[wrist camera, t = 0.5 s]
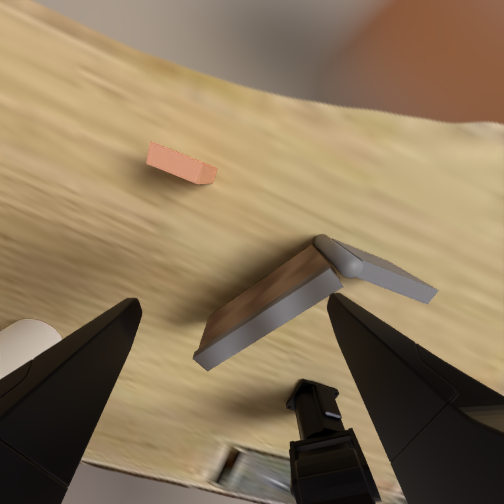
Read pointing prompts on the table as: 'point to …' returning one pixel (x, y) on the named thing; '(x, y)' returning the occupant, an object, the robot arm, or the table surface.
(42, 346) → the cylindrical container
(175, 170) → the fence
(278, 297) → the gate
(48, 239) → the table surface
